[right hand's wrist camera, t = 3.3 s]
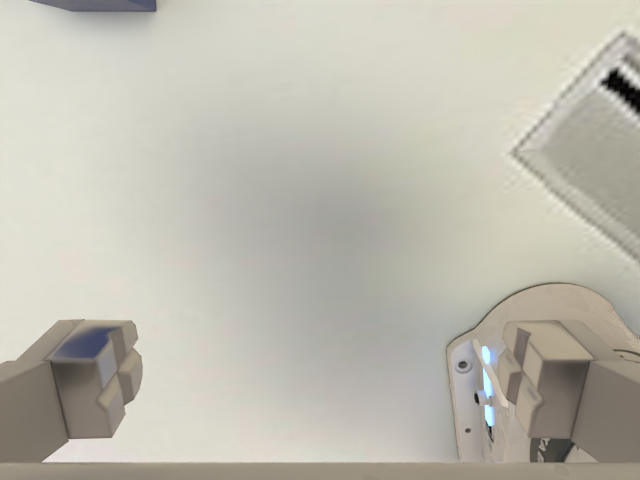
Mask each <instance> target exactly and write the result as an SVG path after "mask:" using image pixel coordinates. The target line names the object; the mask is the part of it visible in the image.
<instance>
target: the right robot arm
mask: <svg viewBox="0 0 640 480" xmlns="http://www.w3.org/2000/svg"><path fill="white" fill-rule="evenodd" d="M137 340H138V335H137V330H136V325H135V324H134V323H133V322H132V321H129V320H84V319H74V320H59V321H58V322H57V323H56V324H54V325H53V326H52V327H51V328H50V329H49V330H48V331H47V332H46V333H45V334H44V335H43V336H42V337H40V338H39V339H38V340H37V341H36V342H35V343H34V344H33V345H32V346H31V347H30V348H29V349H28V350H27V351H25V352H24V353H23V354H22V355H21V356H20V357H19V358H18V359H17V360H16V361H6V362H4V363H1V364H0V480H640V339H639V338H637V337H636V336H635V335H633V334H632V333H630V331H629V330H628V329H627V327H626V326H625V325H624V323H623V322H622V320H621V319H620V317H619V316H618V314H617V313H616V311H615V309H614V308H613V307H612V305H611V304H610V303H609V302H608V301H607V300H606V299H605V298H603V297H602V296H601V295H599V294H598V293H596V292H594V291H592V290H590V289H587V288H585V287H582V286H578V285H572V284H560V283H559V284H546V285H540V286H536V287H532V288H529V289H526V290H524V291H521V292H519V293H517V294H515V295H513V296H511V297H509V298H508V299H506V300H505V301H503V302H502V303H501V304H499V305H498V306H497V307H496V308H494V309H493V310H492V311H491V312H490V313H489V314H488V315H487V316H486V318H485V319H484V320H483V321H482V322H481V323H480V324H479V325H478V326H477V327H476V328H475V329H474V330H472V331H470V332H468V333H466V334H464V335H462V336H460V337H458V338H457V339H455V340H454V341H452V342H451V343H450V344H449V346H448V348H447V361H448V370H449V378H450V387H451V396H452V404H453V413H454V421H455V430H456V438H457V447H458V455H459V458H460V460H461V462H462V463H41V462H42V461H43V460H45V459H46V458H47V457H49V456H50V455H51V454H52V453H54V452H55V451H56V450H58V449H59V448H60V447H62V446H63V445H64V444H66V443H67V442H68V441H69V440H68V439H88V438H112V437H113V435H114V433H115V431H116V430H117V428H118V426H119V425H120V423H121V421H122V419H123V418H124V416H125V409H124V405H126V404H127V403H129V402H131V401H132V400H134V398H135V396H136V395H137V393H138V391H139V388H140V384H141V380H142V359H141V356H140V355H139V353H138V352H137V351H136V350H135V349H134V348H133V346H134V344H135V343H136V341H137ZM461 361H465V362H464V363H463V364H459V363H460V362H461Z"/></svg>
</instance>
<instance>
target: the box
mask: <svg viewBox="0 0 640 480" xmlns="http://www.w3.org/2000/svg"><path fill="white" fill-rule="evenodd" d="M30 1H34V2H37V3H41V4H45V5H49V6H53V7H57V8H61V9H65V10H69V11H156V3H155V0H30Z"/></svg>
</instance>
